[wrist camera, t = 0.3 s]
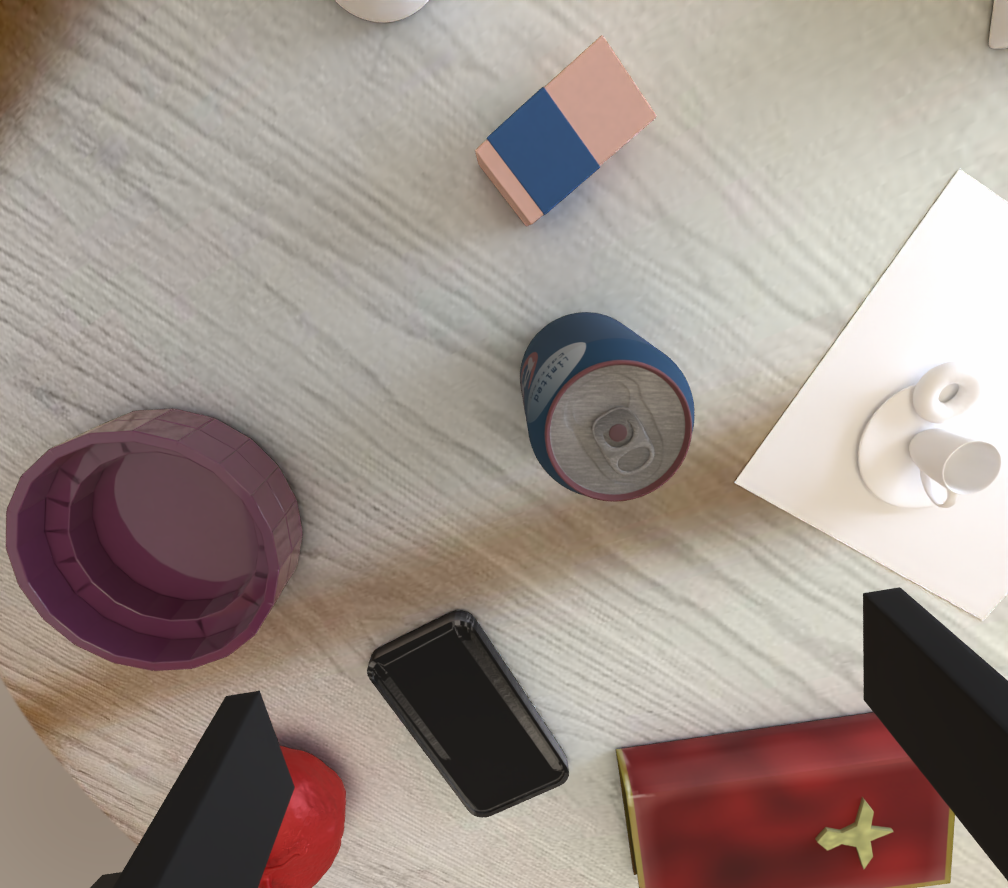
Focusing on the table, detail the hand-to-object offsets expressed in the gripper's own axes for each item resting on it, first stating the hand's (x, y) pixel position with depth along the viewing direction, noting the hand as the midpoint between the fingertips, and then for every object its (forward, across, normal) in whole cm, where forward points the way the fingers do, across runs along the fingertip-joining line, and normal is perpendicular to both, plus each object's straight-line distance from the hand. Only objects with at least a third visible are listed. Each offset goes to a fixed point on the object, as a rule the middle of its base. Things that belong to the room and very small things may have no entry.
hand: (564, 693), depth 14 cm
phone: (+24, -7, -20) cm, 32 cm away
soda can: (+24, +4, +2) cm, 25 cm away
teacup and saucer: (+24, +26, -6) cm, 36 cm away
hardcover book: (+24, +13, -31) cm, 41 cm away
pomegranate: (+24, -21, -24) cm, 40 cm away
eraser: (+24, +4, +13) cm, 28 cm away
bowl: (+24, -21, -3) cm, 32 cm away
